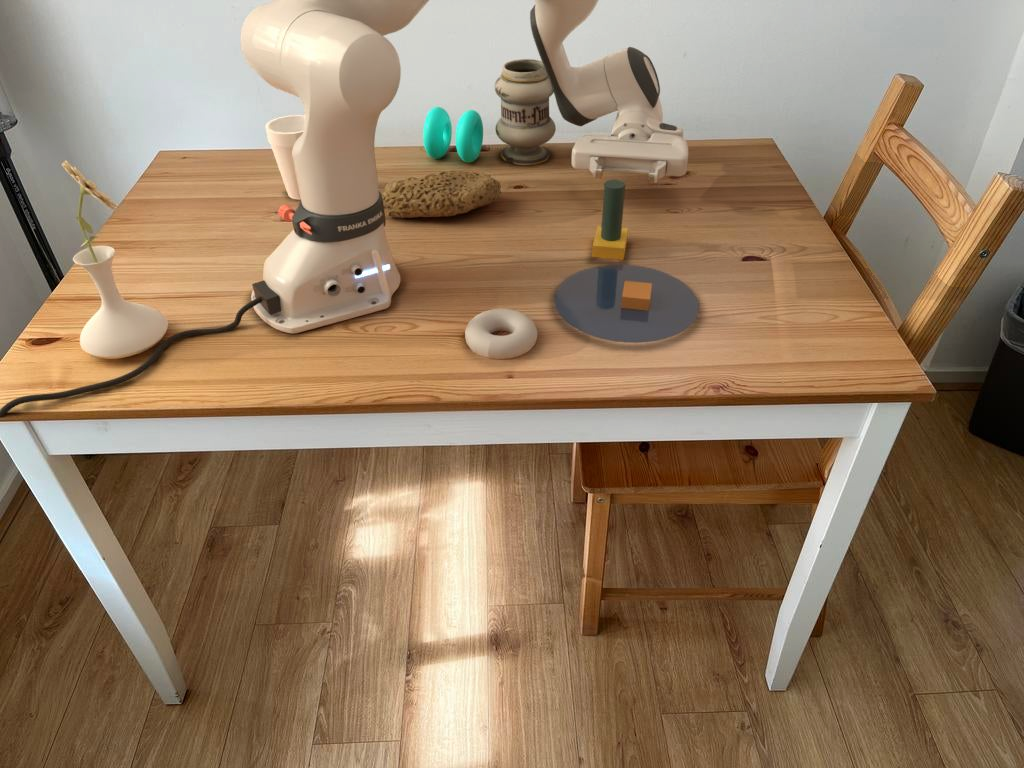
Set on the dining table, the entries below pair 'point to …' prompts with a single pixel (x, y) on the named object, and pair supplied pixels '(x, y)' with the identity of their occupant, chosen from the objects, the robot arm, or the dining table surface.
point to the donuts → (441, 132)
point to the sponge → (440, 194)
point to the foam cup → (286, 148)
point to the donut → (501, 345)
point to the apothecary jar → (524, 111)
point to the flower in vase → (112, 296)
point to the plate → (598, 311)
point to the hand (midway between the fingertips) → (624, 176)
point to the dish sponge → (611, 223)
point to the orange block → (636, 295)
